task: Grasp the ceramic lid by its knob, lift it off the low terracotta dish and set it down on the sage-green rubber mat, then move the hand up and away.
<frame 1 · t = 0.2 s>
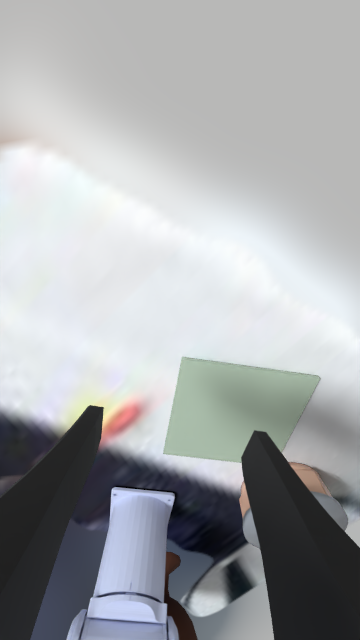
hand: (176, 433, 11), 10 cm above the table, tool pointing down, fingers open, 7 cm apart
lid: (291, 520, 26), point 3 cm above the table, touching dish
mat: (233, 416, 24), on the table
dish: (280, 487, 29), on the table
ice cream bowl: (164, 557, 38), on the table
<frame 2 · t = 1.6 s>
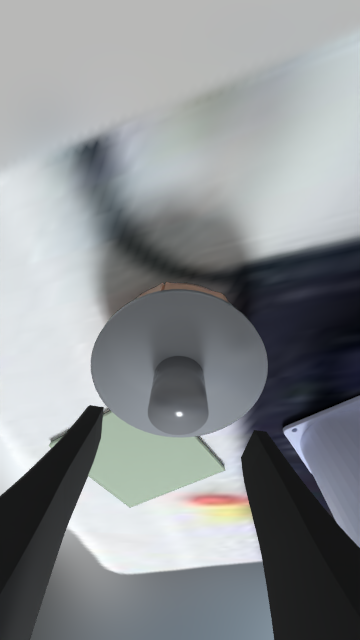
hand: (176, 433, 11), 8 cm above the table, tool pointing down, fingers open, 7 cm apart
lid: (179, 369, 16), point 3 cm above the table, touching dish
mat: (140, 454, 24), on the table
dish: (179, 343, 19), on the table
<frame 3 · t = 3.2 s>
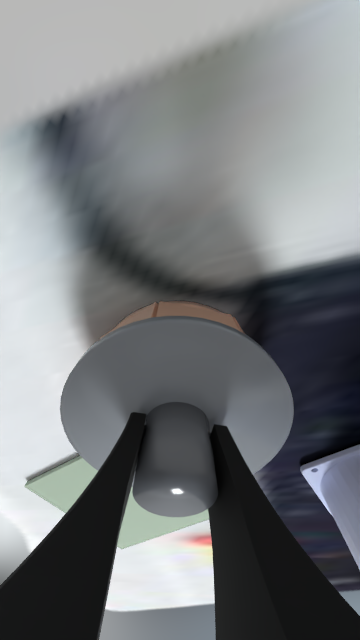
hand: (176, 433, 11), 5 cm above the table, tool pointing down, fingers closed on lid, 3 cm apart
lid: (177, 413, 12), point 3 cm above the table, touching dish, gripper
mat: (132, 494, 21), on the table
dish: (177, 372, 15), on the table
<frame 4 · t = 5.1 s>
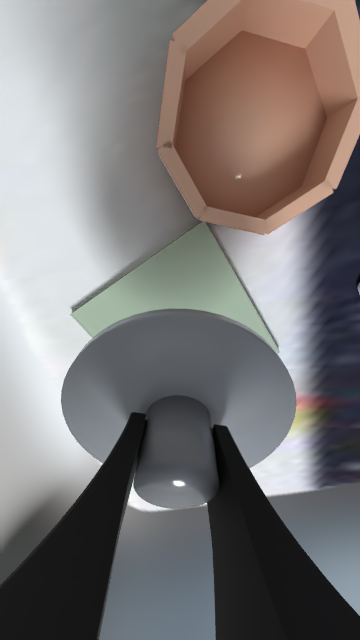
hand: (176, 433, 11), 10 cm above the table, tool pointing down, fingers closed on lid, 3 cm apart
lid: (178, 406, 12), point 9 cm above the table, touching gripper
mat: (178, 331, 20), on the table
dish: (244, 140, 15), on the table
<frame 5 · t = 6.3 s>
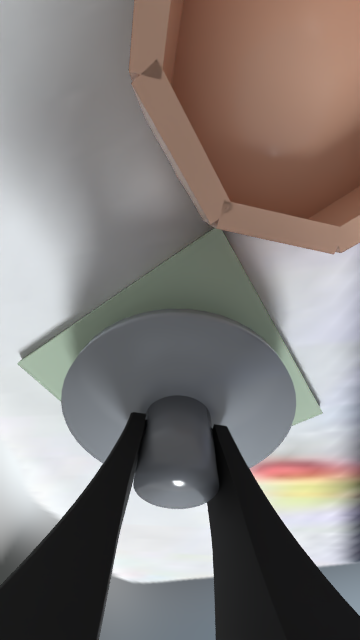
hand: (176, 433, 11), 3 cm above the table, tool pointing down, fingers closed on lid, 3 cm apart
lid: (178, 406, 12), point 2 cm above the table, touching gripper
mat: (178, 385, 14), on the table
dish: (293, 87, 8), on the table
when the fingers open (3 cm above the table, at t = 7.1 s): lid drops 1 cm, resting on mat.
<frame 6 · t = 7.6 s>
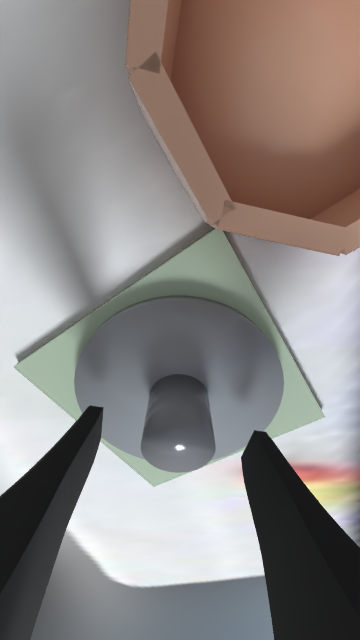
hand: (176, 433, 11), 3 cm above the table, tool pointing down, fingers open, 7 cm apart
lid: (179, 387, 13), resting on mat
mat: (177, 388, 14), on the table
dish: (296, 83, 8), on the table
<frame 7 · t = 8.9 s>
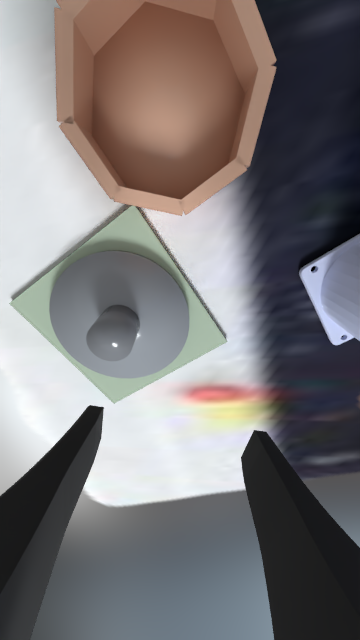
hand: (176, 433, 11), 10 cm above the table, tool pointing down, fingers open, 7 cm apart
lid: (122, 319, 20), resting on mat
mat: (122, 321, 20), on the table
dish: (166, 120, 14), on the table
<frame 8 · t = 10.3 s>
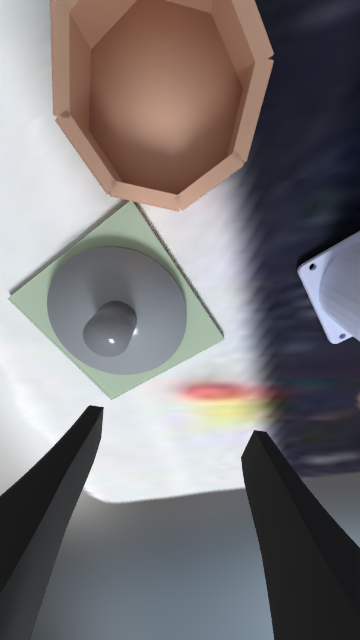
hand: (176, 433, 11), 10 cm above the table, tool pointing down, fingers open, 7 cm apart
lid: (119, 315, 20), resting on mat
mat: (120, 317, 20), on the table
dish: (164, 115, 14), on the table
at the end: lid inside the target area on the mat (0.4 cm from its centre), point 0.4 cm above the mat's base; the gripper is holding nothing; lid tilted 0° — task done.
